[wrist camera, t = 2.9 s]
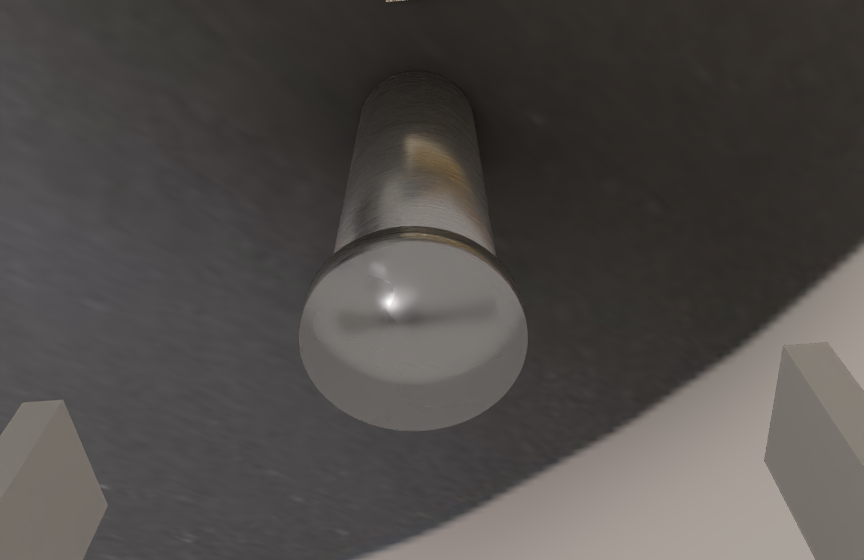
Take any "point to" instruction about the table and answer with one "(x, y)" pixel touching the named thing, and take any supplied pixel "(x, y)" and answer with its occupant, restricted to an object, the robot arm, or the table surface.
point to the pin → (414, 271)
